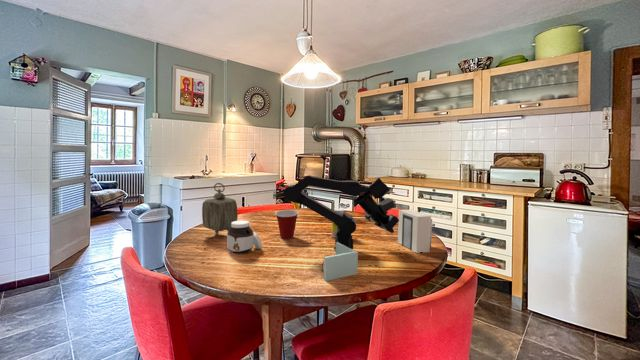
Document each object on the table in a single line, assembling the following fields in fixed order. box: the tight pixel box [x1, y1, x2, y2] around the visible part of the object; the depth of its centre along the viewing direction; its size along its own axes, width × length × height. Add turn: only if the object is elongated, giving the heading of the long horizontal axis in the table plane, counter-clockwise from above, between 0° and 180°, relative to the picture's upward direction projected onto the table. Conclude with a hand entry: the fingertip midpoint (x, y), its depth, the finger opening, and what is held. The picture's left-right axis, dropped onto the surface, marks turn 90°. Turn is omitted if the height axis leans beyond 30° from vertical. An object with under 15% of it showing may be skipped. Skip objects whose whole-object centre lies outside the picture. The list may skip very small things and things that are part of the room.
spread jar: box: [226, 220, 263, 255], centre depth 119 cm, size 12×11×12 cm
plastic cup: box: [274, 209, 300, 240], centre depth 137 cm, size 11×11×12 cm
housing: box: [397, 209, 432, 254], centre depth 125 cm, size 6×14×15 cm, turn 16°
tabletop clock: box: [201, 182, 239, 239], centre depth 137 cm, size 14×9×25 cm, turn 58°
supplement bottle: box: [331, 208, 345, 238], centre depth 140 cm, size 7×7×13 cm
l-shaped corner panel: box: [322, 242, 359, 282], centre depth 99 cm, size 12×12×8 cm
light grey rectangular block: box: [402, 218, 433, 250], centre depth 125 cm, size 10×5×12 cm, turn 106°
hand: (392, 232), depth 122 cm, fingers closed
